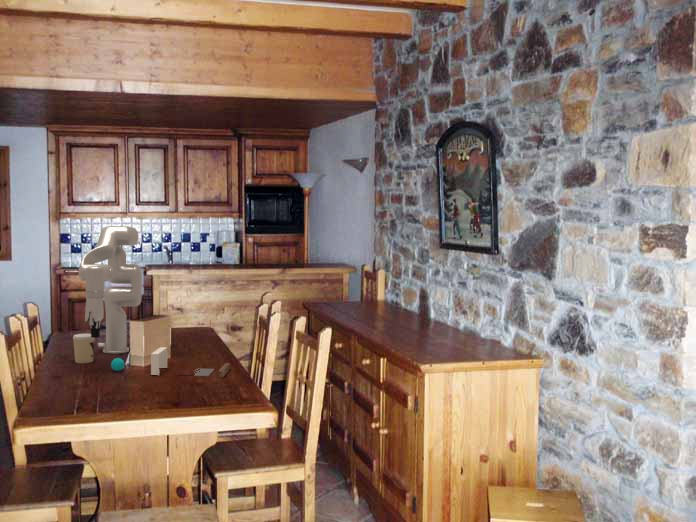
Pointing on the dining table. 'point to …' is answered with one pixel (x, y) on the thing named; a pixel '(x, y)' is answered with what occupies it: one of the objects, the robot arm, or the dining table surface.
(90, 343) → the coffee cup
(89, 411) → the dining table surface
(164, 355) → the bridge
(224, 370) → the stopper wall
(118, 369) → the ball
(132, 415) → the dining table surface
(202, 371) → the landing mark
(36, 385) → the dining table surface
